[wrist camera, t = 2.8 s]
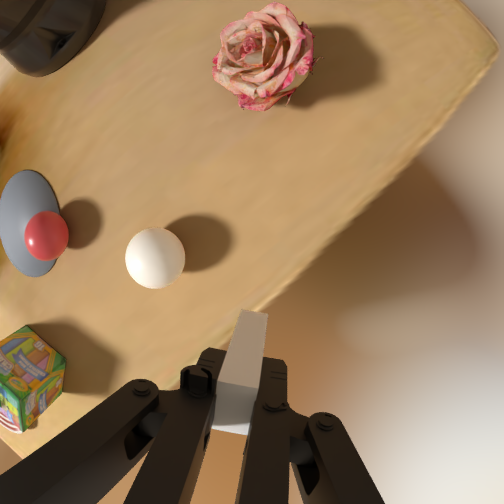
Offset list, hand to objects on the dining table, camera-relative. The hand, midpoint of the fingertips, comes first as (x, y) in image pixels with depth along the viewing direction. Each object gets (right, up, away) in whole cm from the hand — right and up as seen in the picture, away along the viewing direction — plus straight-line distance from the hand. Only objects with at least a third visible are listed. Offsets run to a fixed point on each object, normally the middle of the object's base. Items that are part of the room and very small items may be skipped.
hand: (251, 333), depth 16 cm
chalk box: (-32, -12, +19) cm, 39 cm away
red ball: (-22, +6, +10) cm, 25 cm away
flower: (+1, +21, +8) cm, 22 cm away
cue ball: (-9, +4, +9) cm, 13 cm away
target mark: (-29, +8, +13) cm, 33 cm away
